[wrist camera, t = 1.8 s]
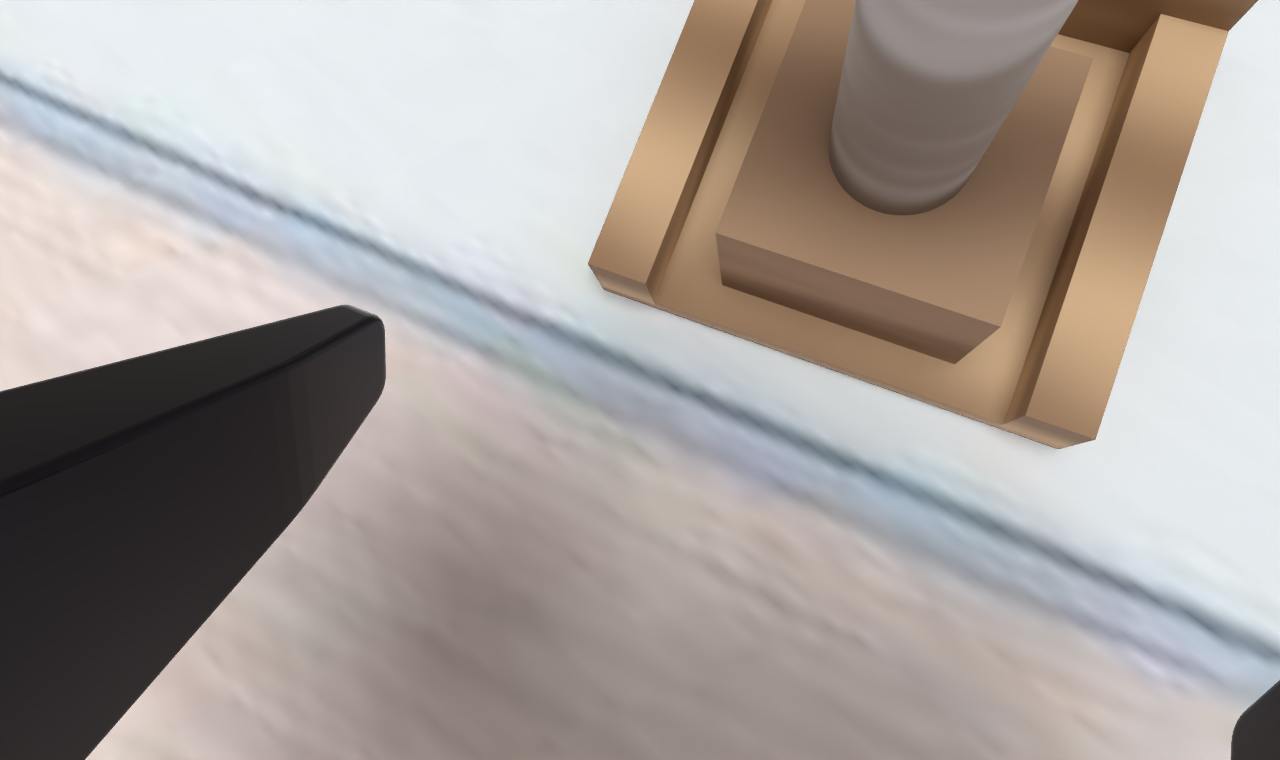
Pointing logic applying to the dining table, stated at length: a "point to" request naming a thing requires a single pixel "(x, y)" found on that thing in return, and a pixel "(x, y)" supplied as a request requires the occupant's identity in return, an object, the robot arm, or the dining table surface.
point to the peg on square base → (904, 166)
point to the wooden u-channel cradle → (1058, 251)
